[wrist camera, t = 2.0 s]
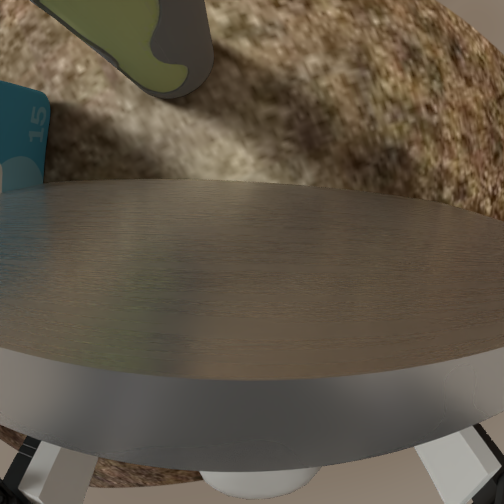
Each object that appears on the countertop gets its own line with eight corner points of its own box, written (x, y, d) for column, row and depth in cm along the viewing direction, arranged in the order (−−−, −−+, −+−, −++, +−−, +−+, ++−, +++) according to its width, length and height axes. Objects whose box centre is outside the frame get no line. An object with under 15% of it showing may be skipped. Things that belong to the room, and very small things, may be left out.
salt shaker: (211, 251, 19) (187, 411, 6) (299, 274, 20) (388, 429, 7) (190, 330, 20) (162, 503, 8) (270, 348, 21) (307, 514, 9)
